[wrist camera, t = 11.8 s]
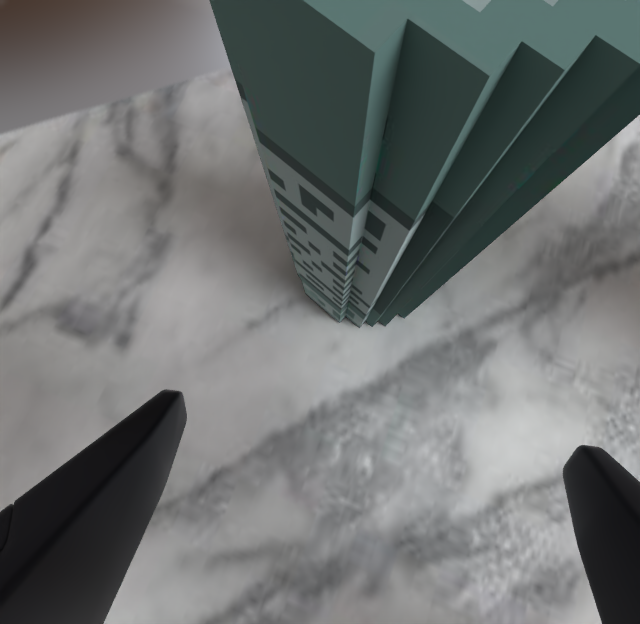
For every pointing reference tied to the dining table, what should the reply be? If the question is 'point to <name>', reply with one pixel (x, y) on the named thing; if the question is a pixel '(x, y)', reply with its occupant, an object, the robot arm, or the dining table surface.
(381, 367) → the dining table surface
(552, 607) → the dining table surface
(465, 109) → the can
